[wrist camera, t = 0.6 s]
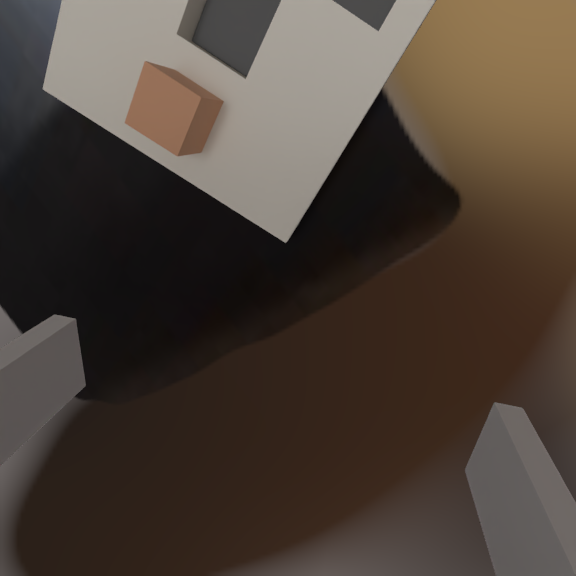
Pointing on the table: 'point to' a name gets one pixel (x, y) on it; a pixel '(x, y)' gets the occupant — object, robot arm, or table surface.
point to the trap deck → (240, 84)
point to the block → (172, 110)
